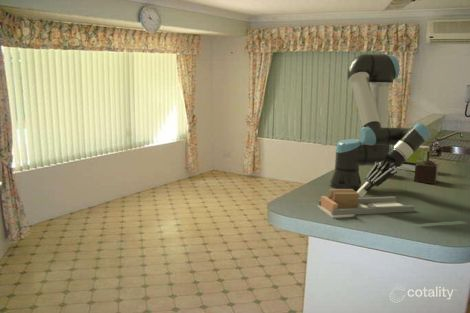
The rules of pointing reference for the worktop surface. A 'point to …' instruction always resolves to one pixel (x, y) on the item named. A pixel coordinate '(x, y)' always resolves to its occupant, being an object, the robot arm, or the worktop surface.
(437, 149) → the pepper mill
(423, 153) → the tea box
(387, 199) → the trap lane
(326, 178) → the worktop surface
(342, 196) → the walnut block
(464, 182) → the worktop surface
